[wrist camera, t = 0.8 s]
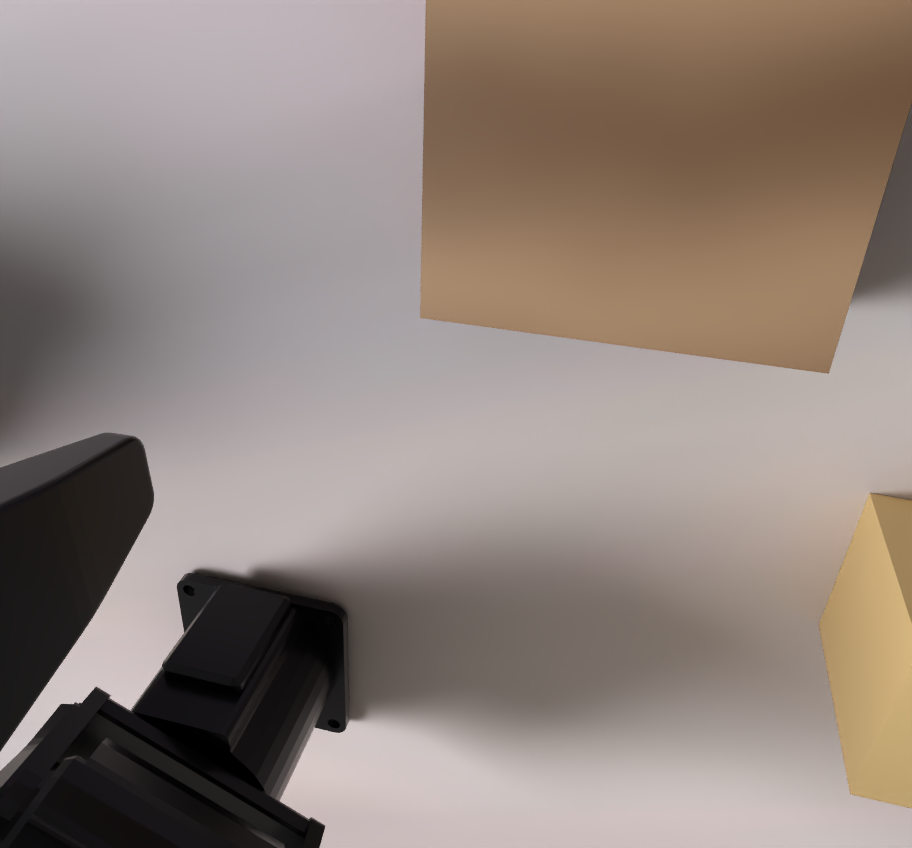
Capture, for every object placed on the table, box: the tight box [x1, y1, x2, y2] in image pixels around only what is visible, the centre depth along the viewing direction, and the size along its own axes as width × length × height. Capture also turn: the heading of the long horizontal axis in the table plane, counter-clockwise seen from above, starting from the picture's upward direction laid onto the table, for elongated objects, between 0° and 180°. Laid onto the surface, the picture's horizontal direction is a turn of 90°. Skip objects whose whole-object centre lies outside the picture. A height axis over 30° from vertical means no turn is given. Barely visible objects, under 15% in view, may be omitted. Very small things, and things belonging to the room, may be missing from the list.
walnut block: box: [420, 0, 912, 374], centre depth 18 cm, size 9×9×4 cm
